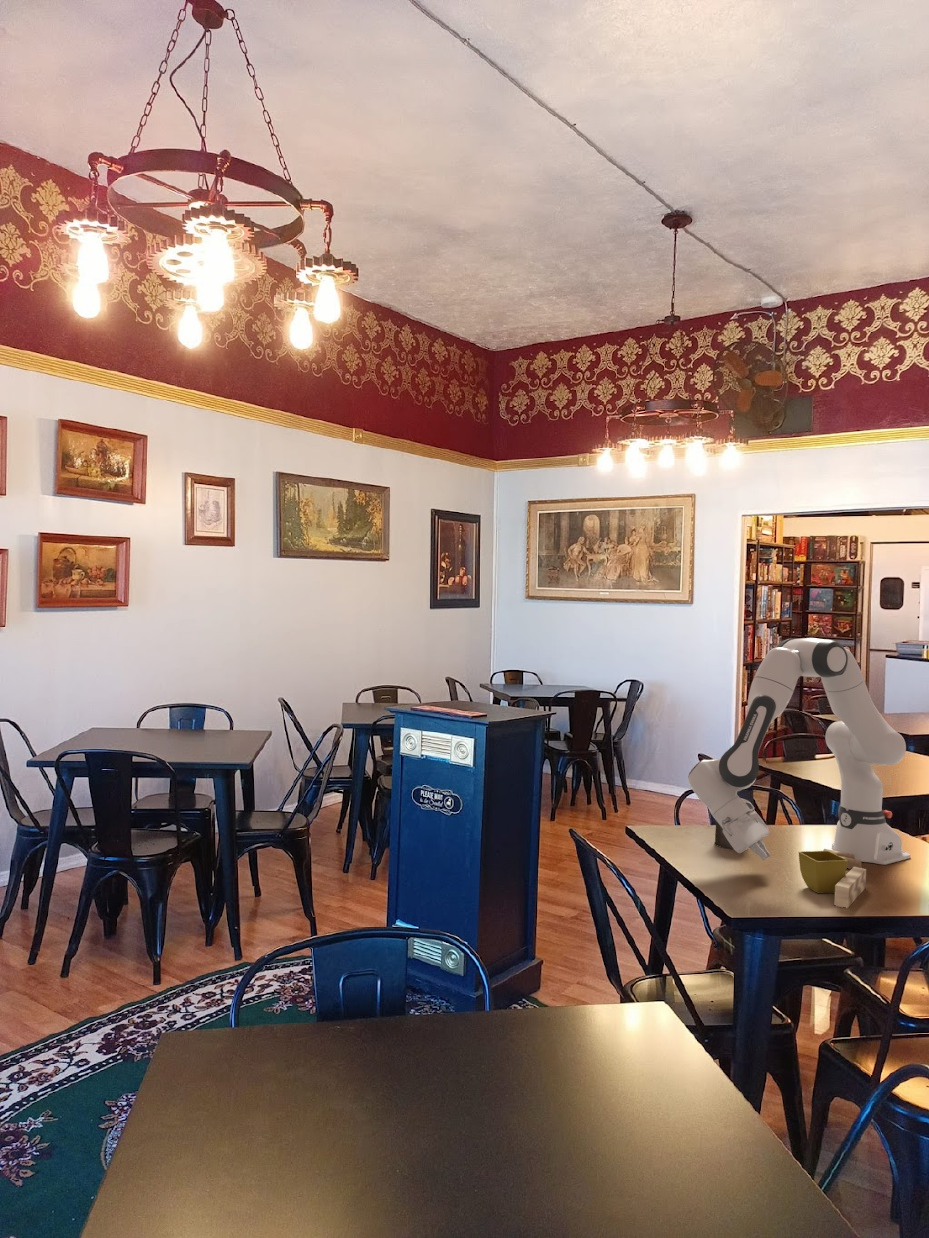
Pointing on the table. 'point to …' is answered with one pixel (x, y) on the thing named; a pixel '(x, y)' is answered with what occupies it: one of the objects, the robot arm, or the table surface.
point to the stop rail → (850, 887)
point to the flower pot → (822, 870)
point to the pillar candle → (720, 836)
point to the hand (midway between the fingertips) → (767, 858)
